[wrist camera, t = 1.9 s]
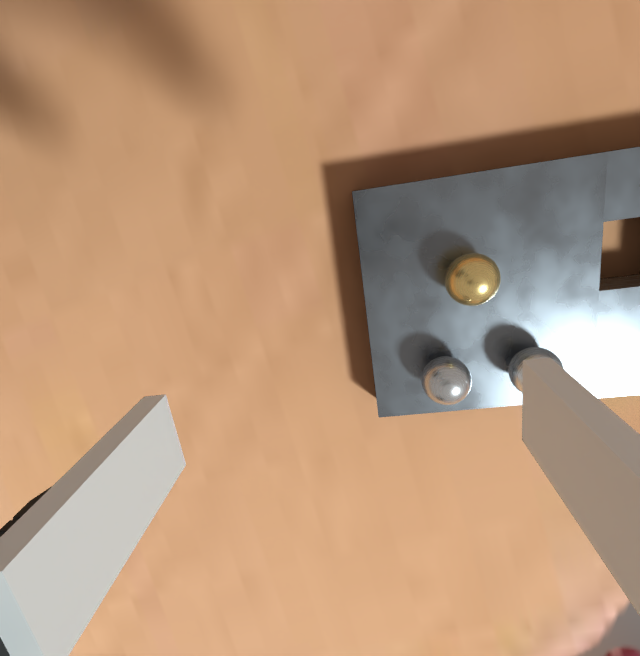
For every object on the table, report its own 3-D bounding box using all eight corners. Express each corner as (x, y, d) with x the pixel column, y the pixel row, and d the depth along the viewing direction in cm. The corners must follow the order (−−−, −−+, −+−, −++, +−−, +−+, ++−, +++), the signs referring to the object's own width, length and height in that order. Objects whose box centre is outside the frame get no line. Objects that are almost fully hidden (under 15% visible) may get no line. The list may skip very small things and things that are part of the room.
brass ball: (438, 253, 28) (449, 261, 25) (490, 246, 27) (508, 253, 24) (441, 301, 29) (452, 315, 26) (491, 295, 28) (508, 308, 25)
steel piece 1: (416, 351, 30) (423, 370, 27) (464, 346, 30) (477, 365, 27) (419, 392, 31) (427, 416, 28) (465, 388, 31) (478, 411, 28)
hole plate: (352, 191, 30) (352, 191, 27) (716, 134, 27) (759, 128, 24) (376, 398, 35) (378, 417, 32) (684, 370, 32) (716, 387, 29)
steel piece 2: (501, 342, 29) (519, 361, 26) (551, 337, 29) (575, 355, 26) (501, 385, 30) (519, 408, 27) (549, 380, 30) (573, 403, 27)
